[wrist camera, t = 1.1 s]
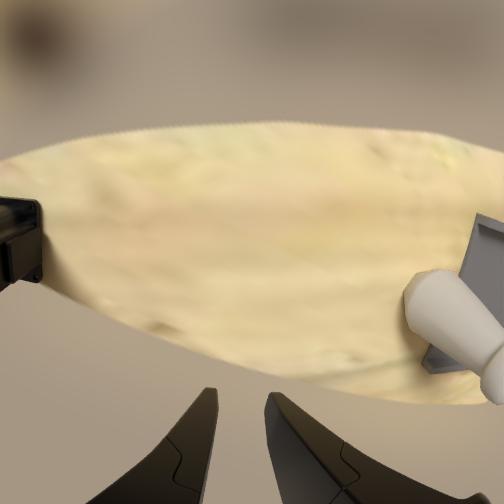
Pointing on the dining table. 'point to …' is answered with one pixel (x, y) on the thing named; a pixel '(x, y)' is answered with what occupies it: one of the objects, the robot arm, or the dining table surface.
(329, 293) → the dining table surface
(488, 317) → the salt shaker
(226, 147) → the dining table surface
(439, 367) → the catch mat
